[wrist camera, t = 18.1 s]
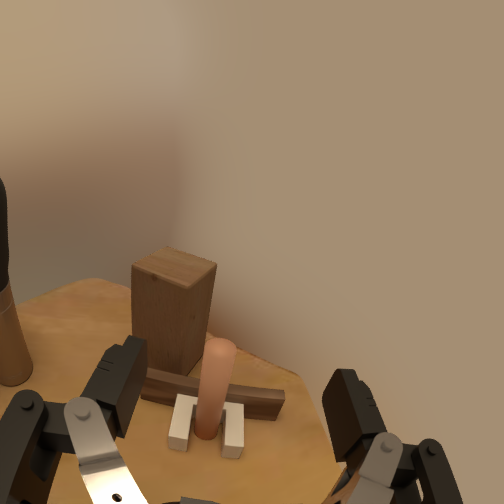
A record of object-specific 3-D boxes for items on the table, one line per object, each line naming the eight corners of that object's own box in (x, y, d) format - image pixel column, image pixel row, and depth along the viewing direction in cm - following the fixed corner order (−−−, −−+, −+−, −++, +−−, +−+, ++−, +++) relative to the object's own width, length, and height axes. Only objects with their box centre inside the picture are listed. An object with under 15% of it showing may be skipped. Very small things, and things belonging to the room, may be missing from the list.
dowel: (189, 428, 35) (198, 344, 29) (206, 418, 38) (221, 334, 32) (205, 443, 33) (220, 363, 27) (222, 432, 36) (243, 350, 30)
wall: (275, 420, 40) (285, 399, 38) (141, 398, 38) (138, 374, 36) (274, 411, 42) (284, 390, 40) (144, 389, 40) (142, 366, 38)
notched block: (238, 458, 32) (243, 447, 31) (168, 448, 31) (168, 435, 30) (238, 417, 39) (243, 404, 38) (176, 408, 38) (177, 393, 37)
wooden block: (179, 385, 43) (188, 286, 36) (132, 361, 45) (130, 263, 38) (204, 354, 52) (218, 262, 45) (161, 335, 54) (166, 245, 47)
